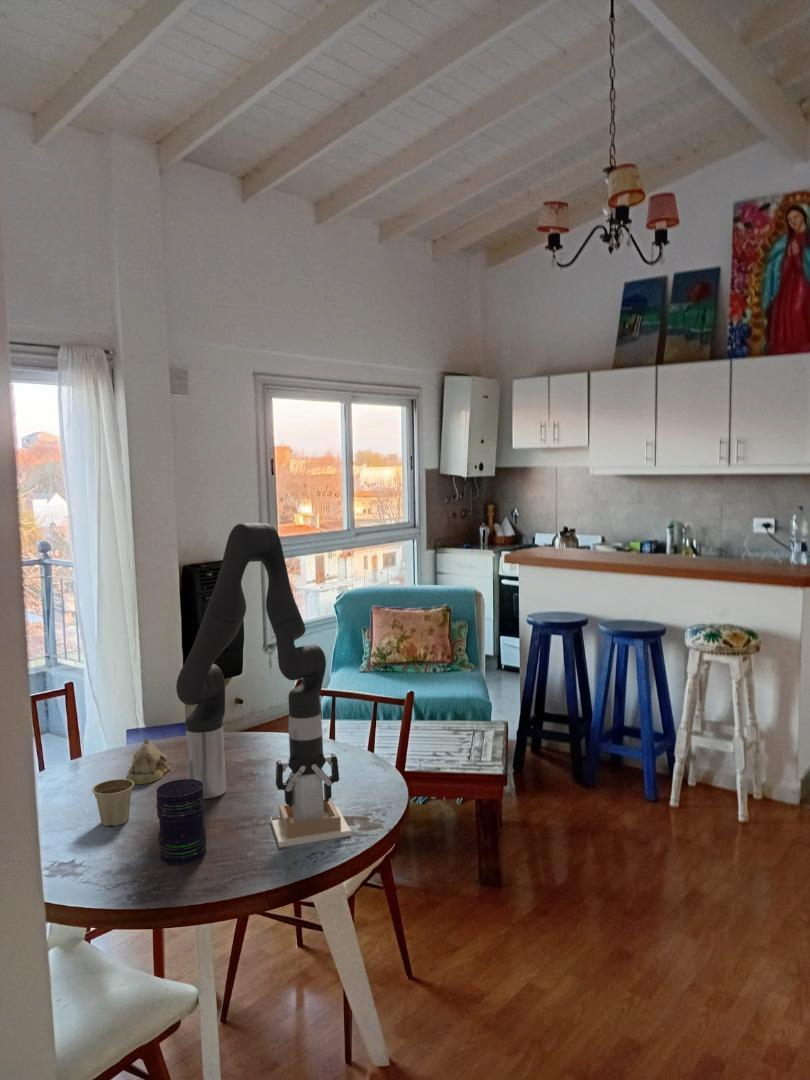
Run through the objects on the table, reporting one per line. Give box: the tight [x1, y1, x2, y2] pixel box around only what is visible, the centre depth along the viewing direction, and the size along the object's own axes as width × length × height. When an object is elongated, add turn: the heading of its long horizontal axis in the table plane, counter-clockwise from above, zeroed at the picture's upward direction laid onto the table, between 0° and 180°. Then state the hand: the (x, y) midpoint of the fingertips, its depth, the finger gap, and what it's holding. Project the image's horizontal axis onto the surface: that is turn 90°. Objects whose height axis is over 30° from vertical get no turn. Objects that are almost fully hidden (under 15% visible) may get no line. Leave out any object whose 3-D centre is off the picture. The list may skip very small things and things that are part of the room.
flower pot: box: [91, 778, 135, 827], centre depth 191 cm, size 9×9×9 cm
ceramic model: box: [127, 738, 172, 785], centre depth 221 cm, size 14×11×10 cm
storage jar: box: [156, 778, 208, 867], centre depth 172 cm, size 10×10×15 cm
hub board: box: [270, 797, 352, 848], centre depth 183 cm, size 16×14×4 cm
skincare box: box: [291, 773, 324, 823], centre depth 183 cm, size 6×4×12 cm
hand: (308, 803), depth 183 cm, fingers open, 8 cm apart
